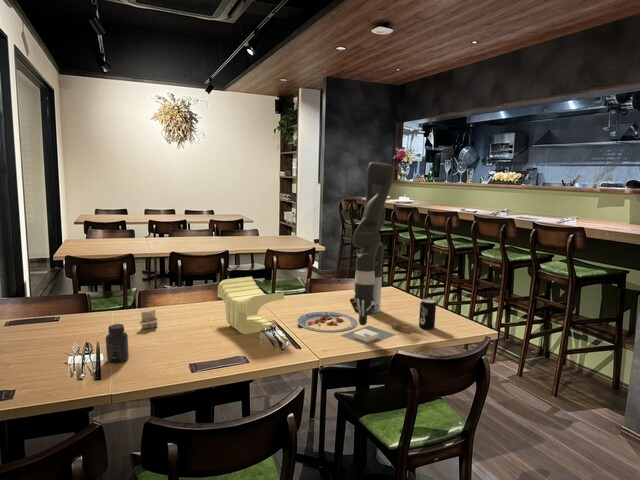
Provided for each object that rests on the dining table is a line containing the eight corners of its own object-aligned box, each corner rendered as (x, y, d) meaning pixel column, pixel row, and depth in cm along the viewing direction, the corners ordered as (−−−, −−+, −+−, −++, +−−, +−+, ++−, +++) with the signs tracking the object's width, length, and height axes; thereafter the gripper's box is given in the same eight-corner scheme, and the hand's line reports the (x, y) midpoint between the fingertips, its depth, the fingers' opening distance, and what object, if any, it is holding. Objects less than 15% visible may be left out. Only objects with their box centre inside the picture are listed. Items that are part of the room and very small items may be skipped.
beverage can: (434, 330, 192) (436, 303, 190) (418, 329, 193) (420, 302, 191) (434, 325, 198) (435, 299, 196) (418, 324, 200) (420, 297, 198)
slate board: (339, 339, 179) (340, 335, 179) (368, 329, 191) (368, 325, 191) (367, 349, 169) (367, 345, 169) (395, 338, 182) (396, 334, 181)
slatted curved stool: (217, 320, 197) (217, 280, 195) (251, 314, 206) (251, 276, 203) (246, 342, 173) (246, 297, 170) (283, 335, 181) (284, 292, 179)
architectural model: (158, 329, 185) (158, 312, 184) (141, 332, 181) (140, 314, 180) (156, 327, 188) (155, 309, 187) (138, 330, 183) (138, 312, 182)
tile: (353, 332, 176) (367, 337, 171) (364, 328, 181) (378, 333, 176) (353, 337, 176) (367, 342, 172) (364, 333, 181) (378, 338, 177)
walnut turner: (411, 334, 187) (412, 326, 186) (403, 337, 183) (403, 329, 182) (386, 326, 196) (386, 318, 196) (377, 329, 192) (378, 321, 191)
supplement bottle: (111, 355, 157) (109, 322, 155) (131, 355, 157) (130, 322, 156) (103, 364, 150) (101, 329, 148) (124, 364, 151) (123, 329, 149)
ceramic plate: (319, 312, 213) (320, 306, 212) (367, 324, 198) (368, 317, 198) (284, 326, 192) (284, 320, 191) (335, 341, 177) (335, 334, 177)
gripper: (345, 279, 176) (343, 322, 179) (371, 286, 167) (369, 331, 170) (357, 277, 182) (356, 318, 184) (384, 283, 172) (382, 327, 175)
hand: (362, 324), depth 177 cm, fingers closed
